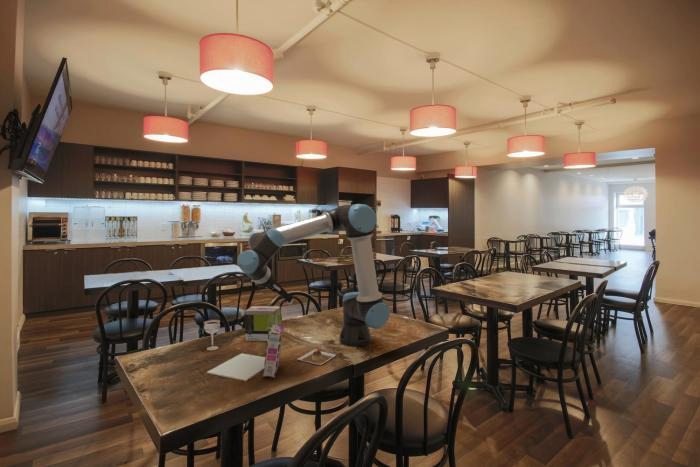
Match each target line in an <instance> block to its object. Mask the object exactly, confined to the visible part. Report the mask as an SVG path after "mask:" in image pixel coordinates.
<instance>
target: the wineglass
mask: <svg viewBox="0 0 700 467" xmlns="http://www.w3.org/2000/svg"><path fill="white" fill-rule="evenodd" d="M220 322H221V320H219V319H209V320H206V321H204V322H203V324H204V326H203V329H204V332H206V333H207V334H210V336H211V346H209V347H208V346H207V348H206V350H207V351H215V350H218V349H219V347H218V346H216V345H214V334H215V333H217V332H218V331H219V330H220V327H221V324H220Z"/></svg>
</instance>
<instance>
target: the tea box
mask: <svg viewBox="0 0 700 467" xmlns="http://www.w3.org/2000/svg"><path fill="white" fill-rule="evenodd" d="M281 310H282V309H281V306H278V305H276V306H275V305H274V306H271V305H270V306H267V305H266V306H265V305H263V306H261V305H260V306H259V305H258V306H257V305H254V306H253V305H252V306H250V307H249V308H247V309H246V310H244V338H245V342H246V341H247V342H248V341H249V342H252V341H253V342H267V341H268V333H269V331H270V329H271V326H272V325H282V318H281V317H282V316H281V314H282V312H281Z"/></svg>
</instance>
